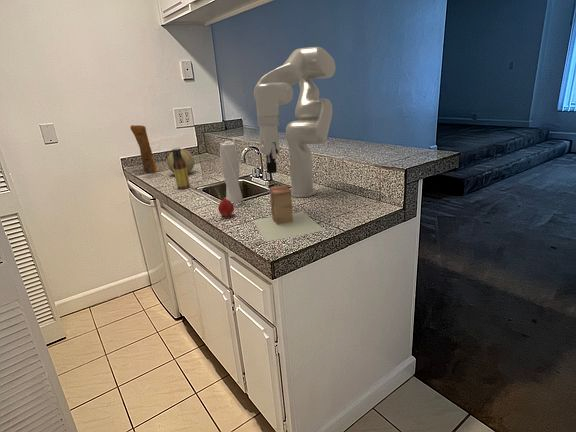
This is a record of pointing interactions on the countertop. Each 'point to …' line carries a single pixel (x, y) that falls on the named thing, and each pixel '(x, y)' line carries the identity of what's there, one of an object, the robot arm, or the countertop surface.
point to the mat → (287, 227)
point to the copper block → (281, 204)
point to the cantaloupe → (187, 158)
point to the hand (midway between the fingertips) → (272, 172)
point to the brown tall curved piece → (144, 148)
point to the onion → (226, 207)
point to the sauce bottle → (180, 170)
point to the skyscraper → (230, 171)
